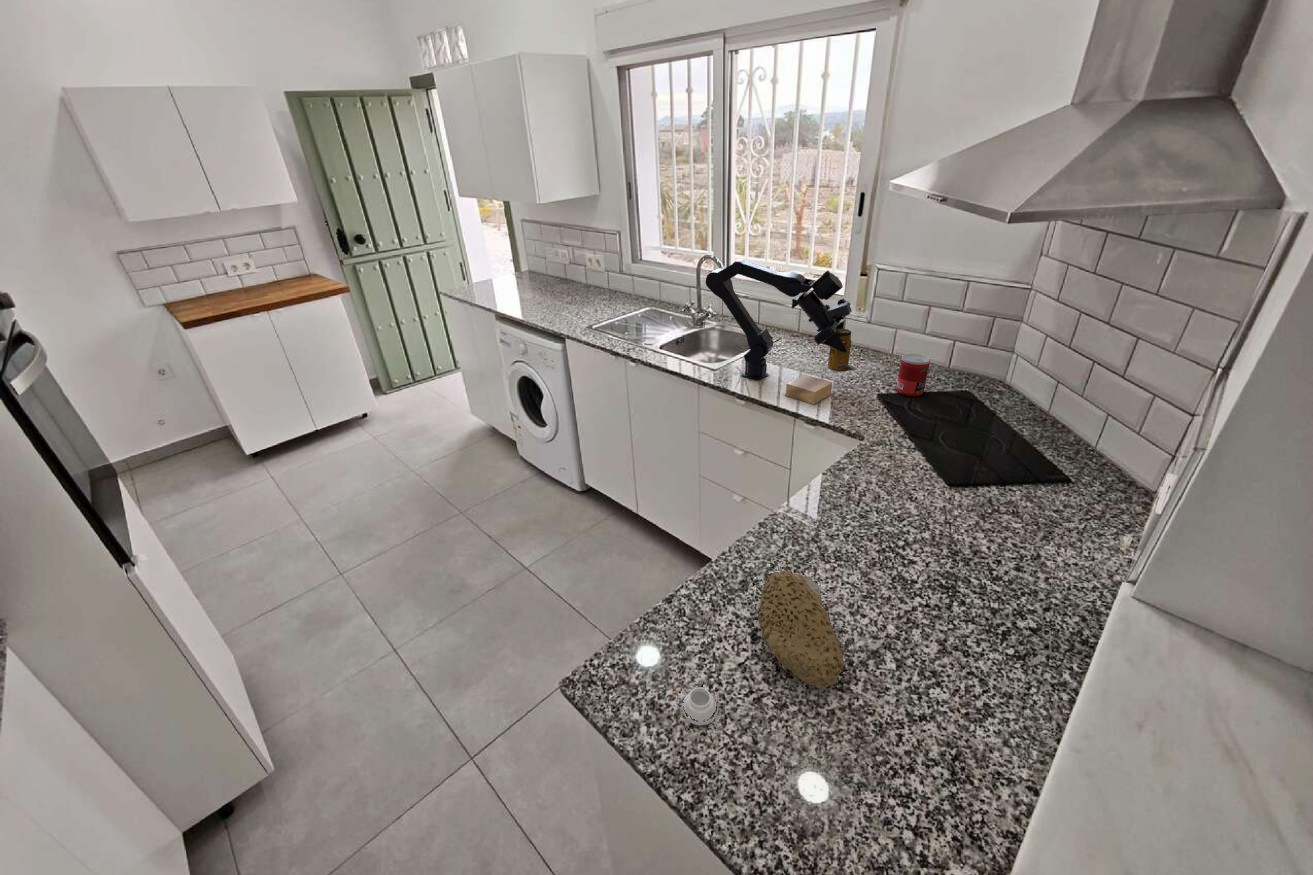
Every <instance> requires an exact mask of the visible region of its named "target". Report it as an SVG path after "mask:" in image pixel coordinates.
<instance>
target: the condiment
mask: <svg viewBox="0 0 1313 875" xmlns="http://www.w3.org/2000/svg"><path fill="white" fill-rule="evenodd" d="M837 330H838V329H837ZM837 330H836V331H837ZM839 337H840V339H841V340H842V342H843V344H844V345H845V347H846V349H847V351H846V352H845V353H844V352H841V351H839V350H837V349H835V348H833V347H830V346H829V353H828V359H827V360H828V361H827V363H825V364H822V365H823V367H825V368H826V369H828V370H829V371H830V372H832V373H843V372H844V373H845V372H848V371H849V372H850V371H851V372H852V371H857V370H859V368H856V366H854V365H852V364H851V363H850V354H851V347H852V331H851V330H849V329H848V328H844V329H839Z"/></svg>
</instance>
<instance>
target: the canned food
mask: <svg viewBox="0 0 1313 875" xmlns="http://www.w3.org/2000/svg"><path fill="white" fill-rule="evenodd" d="M930 365H931V358H930V357H928V356H927V355H923V354H920V353H919V354H918V353H906V354H903V355H902V356H901V358H900V364H899V370H898V375H897V381H896V386H895V388H896V391H897V393H898V394H901V395H904V396H907V397H920V396H921V395H923V393H924V392H925V388H926V383H927V380H928V379H927V378H928V374H929V370H930Z"/></svg>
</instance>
